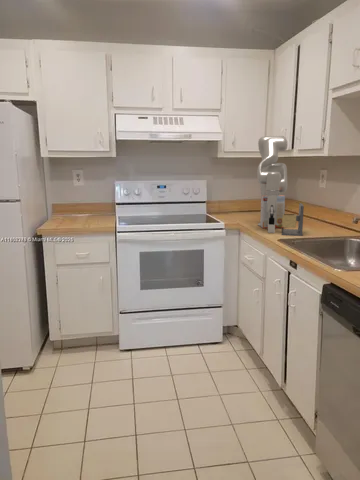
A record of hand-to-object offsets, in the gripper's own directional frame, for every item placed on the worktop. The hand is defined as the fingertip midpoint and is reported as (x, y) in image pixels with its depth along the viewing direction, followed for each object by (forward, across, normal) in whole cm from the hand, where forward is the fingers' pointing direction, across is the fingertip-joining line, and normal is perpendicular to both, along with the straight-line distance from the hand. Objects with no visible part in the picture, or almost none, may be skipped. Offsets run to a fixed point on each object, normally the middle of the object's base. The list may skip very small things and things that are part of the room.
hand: (271, 223), depth 221 cm
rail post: (+5, 0, 0) cm, 5 cm away
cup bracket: (+5, +1, +12) cm, 13 cm away
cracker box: (+6, -17, 0) cm, 18 cm away
